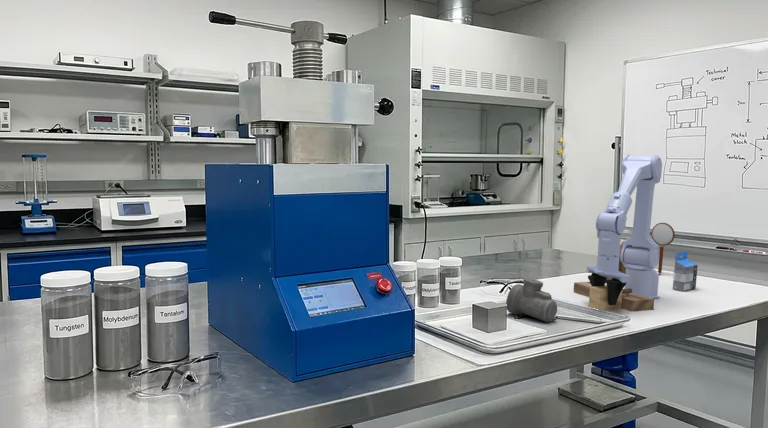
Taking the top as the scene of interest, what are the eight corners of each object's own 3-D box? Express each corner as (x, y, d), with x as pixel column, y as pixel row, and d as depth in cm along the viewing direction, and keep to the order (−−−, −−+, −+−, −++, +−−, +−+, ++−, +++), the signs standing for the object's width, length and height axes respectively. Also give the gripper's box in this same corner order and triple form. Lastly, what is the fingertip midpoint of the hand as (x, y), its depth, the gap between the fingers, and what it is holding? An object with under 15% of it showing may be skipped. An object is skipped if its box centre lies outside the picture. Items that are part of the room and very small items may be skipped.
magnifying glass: (672, 277, 209) (676, 223, 207) (669, 277, 208) (674, 224, 206) (649, 273, 216) (653, 221, 214) (647, 273, 215) (651, 221, 213)
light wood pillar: (623, 304, 164) (625, 284, 164) (634, 308, 160) (636, 287, 160) (588, 307, 159) (590, 286, 159) (598, 311, 156) (600, 289, 155)
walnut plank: (593, 290, 181) (594, 281, 181) (653, 309, 159) (654, 298, 159) (573, 291, 178) (574, 282, 178) (631, 311, 156) (632, 300, 156)
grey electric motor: (501, 313, 148) (509, 275, 147) (518, 310, 154) (526, 274, 152) (540, 329, 139) (549, 289, 138) (557, 326, 145) (565, 288, 144)
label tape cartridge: (683, 292, 184) (687, 254, 182) (671, 289, 187) (674, 253, 186) (696, 289, 189) (699, 252, 188) (684, 286, 192) (687, 251, 191)
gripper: (579, 251, 163) (576, 297, 164) (616, 260, 149) (613, 309, 151) (598, 250, 165) (595, 295, 167) (636, 259, 152) (633, 308, 153)
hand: (605, 302), depth 159 cm, fingers open, 5 cm apart
